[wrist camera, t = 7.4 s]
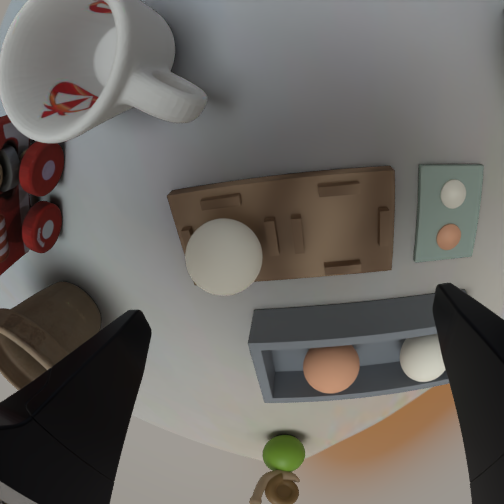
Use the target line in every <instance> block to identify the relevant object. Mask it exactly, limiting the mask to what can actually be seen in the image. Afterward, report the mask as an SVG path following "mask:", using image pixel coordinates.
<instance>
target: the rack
mask: <svg viewBox="0 0 504 504" xmlns="http://www.w3.org/2000/svg"><path fill="white" fill-rule="evenodd" d="M167 198H168V202H169V205H170V208H171V212H172V215H173V219H174V222H175V225H176V228H177V232H178V235H179V238H180V241H181V245H182V248H183V251H184V254H185V253H186V247H187V244H188V242H189V239H190V238H191V236H192V235H193V233H194V232H195V231H196V230H197V229H198V228H199V227H200V226H202V225H203V224H205V223H207V222H209V221H211V220H215V219H221V218H226V219H233V220H236V221H239V222H241V223H243V224H245V225H246V226H247V227H249V228H250V229H251V230H252V231H253V232H254V234H255V235H256V236H257V238H258V240H259V242H260V245H261V248H262V255H263V256H262V266H261V269H260V272H259V274H258V276H257V278H256V279H255V281H254V282H256V281H270V280H284V279H297V278H309V277H322V276H333V275H345V274H356V273H366V272H377V271H387V270H391V268H392V255H393V238H394V211H395V170H394V169H393V168H392V167H391V166H378V167H362V168H348V169H335V170H323V171H313V172H302V173H293V174H284V175H275V176H267V177H259V178H251V179H243V180H236V181H229V182H222V183H215V184H209V185H202V186H196V187H190V188H184V189H178V190H172V191H171V192H170V193H169V194H168V195H167ZM193 282H194V281H193ZM194 285H197V284H196V283H195V282H194Z"/></svg>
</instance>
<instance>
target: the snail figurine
mask: <svg viewBox="0 0 504 504" xmlns="http://www.w3.org/2000/svg"><path fill="white" fill-rule="evenodd" d="M304 458H305V449H304V446H303V444H302V443H301V442H300V441H299V440H298V439H297V438H295V437H293V436H290V435H280V436H276V437H274V438H272V439H271V440H269V441H268V442H267V444H266V445H265V447H264V449H263V460H264V462H265V464H266V466H268V468H270V469H271V470H273V471H270V472H268V473H265V474H264V475H263V476H262V477H261V478H260V480H259V481H258V483H257V485H256V488H255V490H254V492H253V496H252V497H251V498H250V501H249V503H250V504H261V502H262V501H261V497H262V494H263V492H264V490H265V495H266V497H267V499H268V500H269V501H270V502H271V503H272V504H293V503H294V502H295V501H296V500H297V498H298V496H299V490H298V487H297V485H296V484H295V483H294V482H300V480H299V478H298V477H297V476H296V475H295V474H293V473H292V471H294V470H296V469H297V468H298V467H299V466H300V465H301V464H302V462H303V461H304ZM293 481H294V482H293Z"/></svg>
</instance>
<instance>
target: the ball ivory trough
mask: <svg viewBox="0 0 504 504" xmlns="http://www.w3.org/2000/svg"><path fill="white" fill-rule="evenodd" d="M400 364H401V367H402V369H403V371H404V373H405V374H406V375H407V376H408V377H409V378H411V379H413V380H415V381H419V382H428V381H432V380H434V379H436V378H438V377H439V376H440V375H441V374H442V373H443V372H444V371H445V370H446V369H445V366H444V362H443V359H442V354H441V349H440V344H439V339H438V335H437V334H432V335H426V336H420V337H413V338H406V340H405V341H404V343H403V345H402V347H401V350H400Z"/></svg>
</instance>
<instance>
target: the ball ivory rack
mask: <svg viewBox="0 0 504 504" xmlns="http://www.w3.org/2000/svg"><path fill="white" fill-rule="evenodd" d="M262 256H263V255H262V248H261V245H260V242H259V240H258V238H257V236H256V235H255V234H254V232H253V231H252V230H251V229H250V228H249V227H247V226H246V225H245V224H243V223H241V222H239V221H236V220H233V219H226V218H221V219H215V220H211V221H209V222H207V223H205V224H203V225H202V226H200V227H199V228H198V229H197V230H196V231H195V232H194V233H193V235H192V236H191V238H190V239H189V242H188V244H187V247H186V253H185V261H186V267H187V270H188V273H189V275H190V277H191V278H192V280H193V281H194V282H195V283H196V284H197V285H198V286H199V287H200V288H201V289H203V290H204V291H206V292H208V293H211V294H214V295H219V296H229V295H234V294H237V293H240V292H242V291H243V290H245V289H246V288H248V287H249V286H250V285H251V284H252V283H253V282H254V281H255V279H256V278H257V276H258V274H259V272H260V269H261V266H262Z"/></svg>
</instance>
